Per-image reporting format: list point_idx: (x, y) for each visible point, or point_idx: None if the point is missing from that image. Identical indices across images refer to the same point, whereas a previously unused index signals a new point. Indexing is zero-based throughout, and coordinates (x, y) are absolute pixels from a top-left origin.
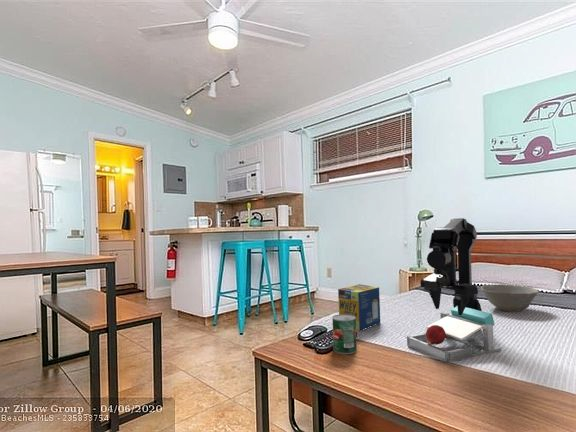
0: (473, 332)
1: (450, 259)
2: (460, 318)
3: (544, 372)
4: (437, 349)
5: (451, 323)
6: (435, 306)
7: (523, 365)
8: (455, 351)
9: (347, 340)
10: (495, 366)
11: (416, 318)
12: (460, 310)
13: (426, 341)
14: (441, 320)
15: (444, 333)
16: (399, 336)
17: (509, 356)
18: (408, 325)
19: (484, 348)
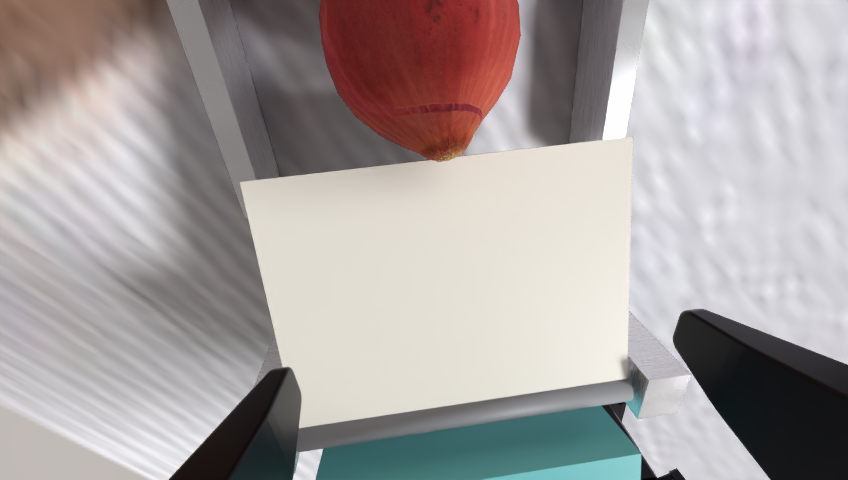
0: (275, 325)
1: None
2: (502, 410)
3: (37, 352)
4: None
5: (504, 316)
6: (731, 327)
7: (126, 335)
8: (181, 40)
9: None
10: (117, 215)
11: (842, 332)
12: (212, 443)
13: (575, 117)
14: (606, 301)
15: (339, 89)
16: (773, 12)
17: (242, 356)
18: (828, 226)
19: None
